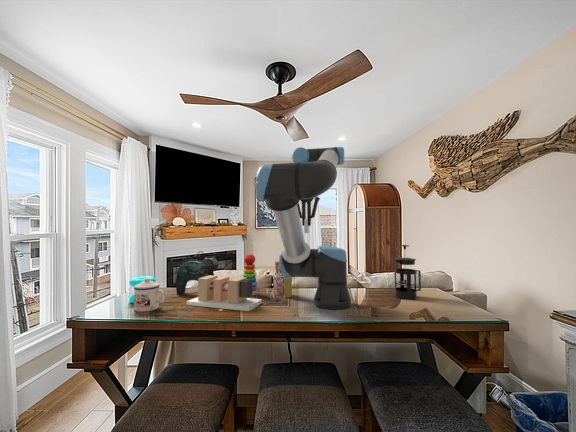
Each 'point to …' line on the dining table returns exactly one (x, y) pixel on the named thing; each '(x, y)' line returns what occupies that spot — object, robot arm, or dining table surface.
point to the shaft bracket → (222, 294)
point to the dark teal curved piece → (194, 271)
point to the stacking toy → (250, 272)
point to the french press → (402, 291)
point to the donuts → (137, 281)
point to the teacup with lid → (147, 296)
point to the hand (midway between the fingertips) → (306, 232)
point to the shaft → (244, 288)
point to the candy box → (282, 282)
